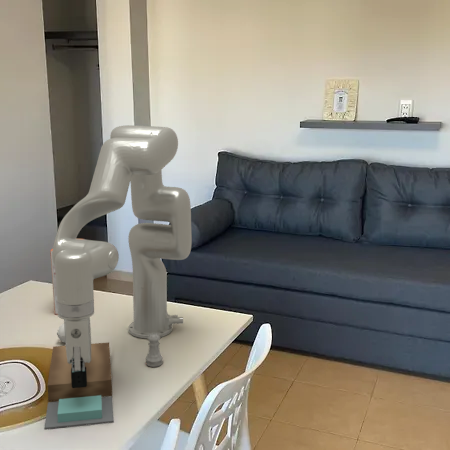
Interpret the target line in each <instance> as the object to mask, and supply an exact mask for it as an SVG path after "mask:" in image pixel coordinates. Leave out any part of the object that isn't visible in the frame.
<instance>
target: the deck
mask: <svg viewBox="0 0 450 450" xmlns="http://www.w3.org/2000/svg"><path fill="white" fill-rule="evenodd" d="M110 346H111V345H110V342H109V341H108V342H98V343H97V342H96V343H91V362H90V363H88V362H86V363H85V367H86V372H87V386H86V387H80V388H72V382H71V368H72V364H69V363H68V362H67V354H66V345H56V346H52V350H51V351H52V352H51V360H50V365H49V371H48V372H49V373H48V379H47V386H46V387H47V399H48V400H47V401H48V402H58V401H59V399H66V398H77V397H88V396H98V395H101V397H111V396H112V397H113V383H112V380H113V379H112V363H111V347H110ZM48 402H47V403H48Z"/></svg>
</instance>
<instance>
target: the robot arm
mask: <svg viewBox="0 0 450 450" xmlns="http://www.w3.org/2000/svg"><path fill="white" fill-rule="evenodd" d="M109 136H110V138H109V139H106V140H105V141H104V142H103V143H102V145H101V148H100V151H99V153H98V158H97V162H96V166H95V168H94V172H93V176H92V180H91V183H90V187H89V191H88V193H87V194H86V196H84V197H83V198H82V199H80V200H79V201H78V202H77V203H76V204H74V205H73V207H71V209H70V210H69V211H68V212H67V213H66V214H65V215H64V216H63V218H62V220H61V221H60V224H59V226H58V228H57V229H58V230H57V233H56V235H55V238H54V243H53V246H52V249H53V252H52V260H53V263H54V265H55V271H56V290H57V309H58V315H57V316H58V318H60V319H61V320H63V323H64V330H65V346H66V354H67V362H68V363H69V364H72V368H71V382H72V388H80V387H86V386H87V372H86V367H85V363H86V362H88V363H90V362H91V344H92V332H91V331H92V330H91V329H92V328H91V318H90V317H92V316H94V314H95V302H94V301H95V299H94V298H95V297H94V295H95V294H94V279H97V278H101V277H105V276H107V275H109V274H111V273H112V272H113V271H114V270H115V269H116V267H117V265H118V263H119V259H120V258H119V251H118V249H117V247H116V246H115V245H114V244H113V243H110V242H108V241H101V240H91V239H84V238H77V237H78V235H79V234H80V231H82V228H84V227H85V226H86V225H87V224H88V223H90V222H91V221H93V220H95V219H97V218H100V217H102V216H104V215H107V214H110V213H112V212H115V211H117V210H120V209H121V208H123V207H124V206H125V202H126V199H127V195H128V191H129V187H130V195H131V196H130V198H131V206H132V207H131V209H132V213H133V215H134V216H135V218H137V219H139V220H145V221H152V222H141V223H136V224H135V225H133V226H132V227H131V228H130V230H129V233H128V238H127V239H128V246H129V247H128V248H129V252H130V255H131V256H130V257H131V265H132V298H133V299H132V300H133V301H132V303H133V307H132V308H133V321H132V322H130V323H129V325H128V333H130V335H131V336H133V337H136V338H139V339H148V337H149V334H151V335H152V333H154V334H155V333H157V334H159V336H160V338H162V337H165V336H168V335H169V334H170V333H171V332H172V331H173V325H175V324H176V325H181V324H184V317H183V316H178V314H172V315H170V314H169V313H168V310H167V309H168V304H167V301H168V298H167V296H168V294H167V291H168V287H167V285H168V284H167V282H168V281H167V277H168V275H167V269H166V266H165V264H164V262H163V261H162V260H163V259H164V260H174V261H182V260H185V259H187V258H188V257H189V255H190V254H191V250H192V242H193V241H192V236H193V235H192V212H191V211H192V209H191V207H192V206H191V199H190V196H189V193H188V191H186V189H184V188H181V187H176V186H165V185H164V184H163V175H162V170H163V169H164V168H165V167H166V166H167V165H168V164H169V163H171V162H172V160H174V158H175V156H176V154H177V151H178V147H179V138H178V135H177V133H176V131H175V130H174V129H172V128H171V127H168V126H151V125H150V126H149V125H148V126H147V125H119V126H116V127H114V128H113V129H112V130H111V132H110V135H109ZM153 221H154V222H166V223H169V224H166V223H165V224H163V223H154V222H153ZM83 239H84V240H83Z"/></svg>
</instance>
